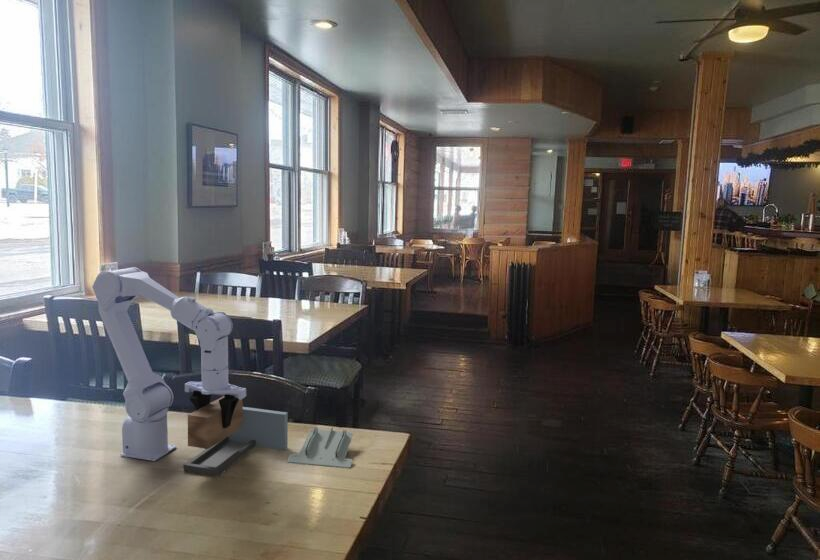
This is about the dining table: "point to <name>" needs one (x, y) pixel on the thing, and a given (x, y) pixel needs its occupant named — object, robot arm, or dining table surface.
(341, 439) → the metal bracket
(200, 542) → the dining table surface
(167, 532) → the dining table surface
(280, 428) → the wall board
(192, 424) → the brown wooden block
